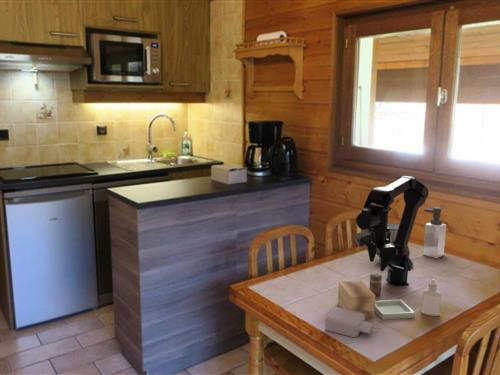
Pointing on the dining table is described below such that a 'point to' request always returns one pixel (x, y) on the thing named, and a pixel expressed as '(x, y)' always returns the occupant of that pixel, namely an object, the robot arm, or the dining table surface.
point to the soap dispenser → (434, 235)
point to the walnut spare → (375, 284)
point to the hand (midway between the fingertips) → (376, 266)
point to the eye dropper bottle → (431, 300)
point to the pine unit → (356, 298)
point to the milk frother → (392, 232)
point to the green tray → (393, 309)
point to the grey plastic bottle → (348, 322)
